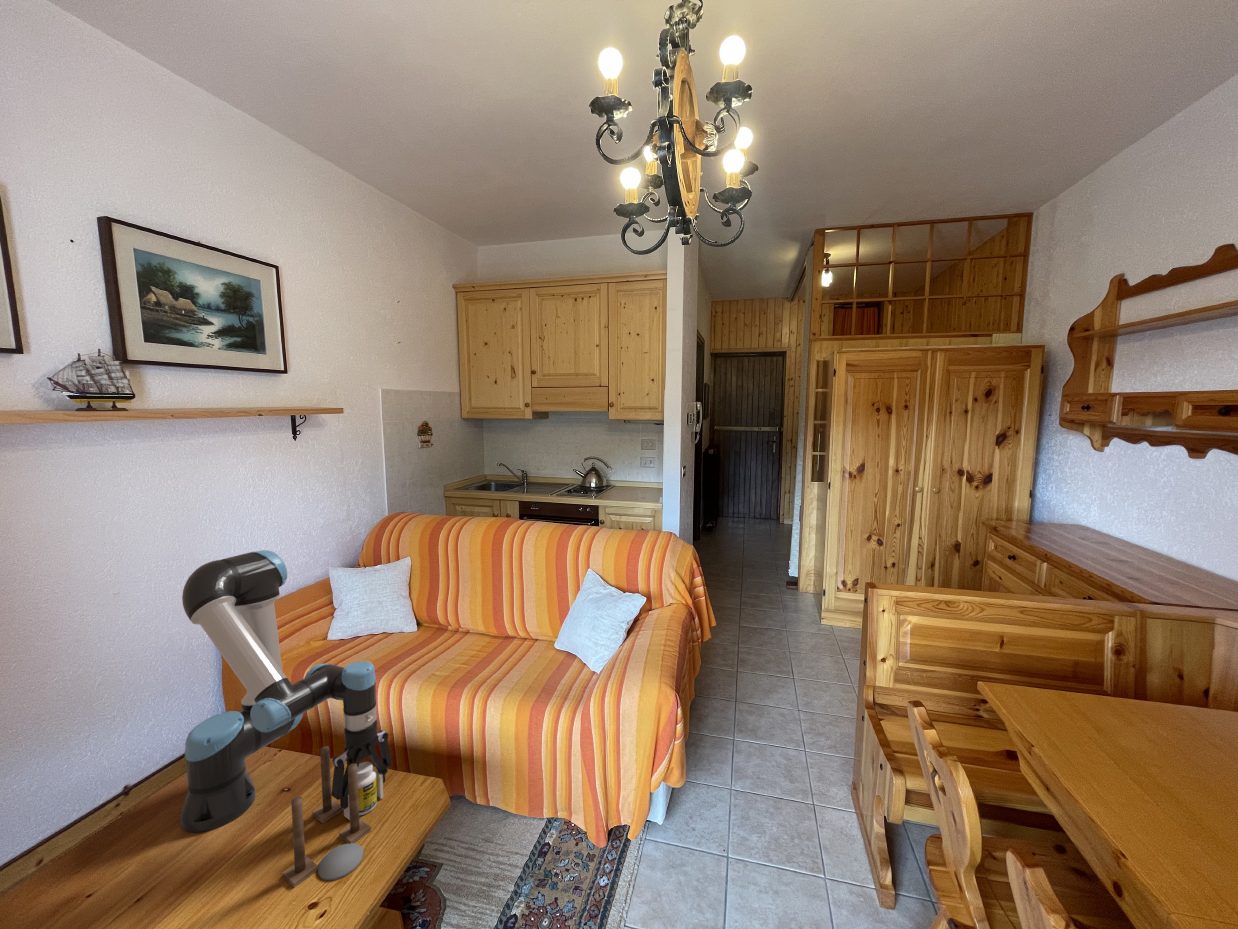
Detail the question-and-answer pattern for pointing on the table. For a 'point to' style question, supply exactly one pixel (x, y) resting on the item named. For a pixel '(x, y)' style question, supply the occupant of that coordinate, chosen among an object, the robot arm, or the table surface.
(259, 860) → the table surface
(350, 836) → the post corner
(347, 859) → the coaster
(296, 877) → the post
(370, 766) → the pill bottle
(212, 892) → the table surface
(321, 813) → the post
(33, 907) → the table surface
